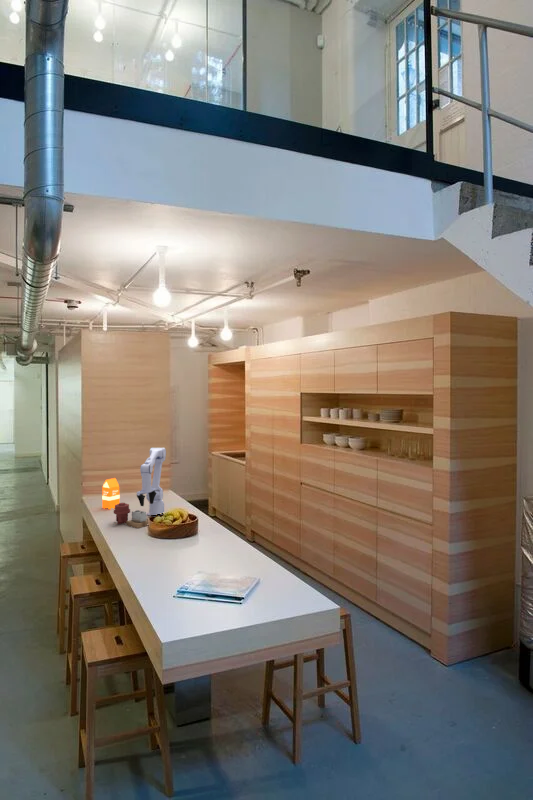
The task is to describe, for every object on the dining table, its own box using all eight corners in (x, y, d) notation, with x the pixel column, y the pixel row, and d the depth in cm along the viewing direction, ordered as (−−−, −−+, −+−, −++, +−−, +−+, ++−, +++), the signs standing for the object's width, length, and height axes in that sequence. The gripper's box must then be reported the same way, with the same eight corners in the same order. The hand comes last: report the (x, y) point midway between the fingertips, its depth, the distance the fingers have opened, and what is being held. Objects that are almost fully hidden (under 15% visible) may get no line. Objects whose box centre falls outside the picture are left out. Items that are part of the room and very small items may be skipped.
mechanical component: (117, 520, 330) (132, 521, 329) (111, 525, 320) (126, 525, 319) (117, 501, 329) (132, 501, 328) (110, 505, 319) (126, 505, 318)
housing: (146, 521, 320) (146, 511, 320) (140, 522, 316) (140, 513, 316) (137, 518, 325) (137, 509, 324) (132, 520, 321) (131, 511, 321)
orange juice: (119, 506, 366) (119, 478, 365) (109, 509, 358) (109, 480, 357) (112, 505, 370) (111, 477, 369) (102, 507, 362) (101, 479, 362)
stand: (140, 521, 328) (140, 517, 328) (152, 524, 322) (152, 520, 321) (126, 525, 320) (126, 521, 319) (137, 528, 313) (137, 524, 313)
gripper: (150, 480, 336) (151, 501, 336) (133, 484, 324) (133, 506, 324) (158, 481, 332) (158, 503, 332) (140, 485, 320) (141, 507, 320)
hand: (146, 504), depth 328 cm, fingers open, 7 cm apart
